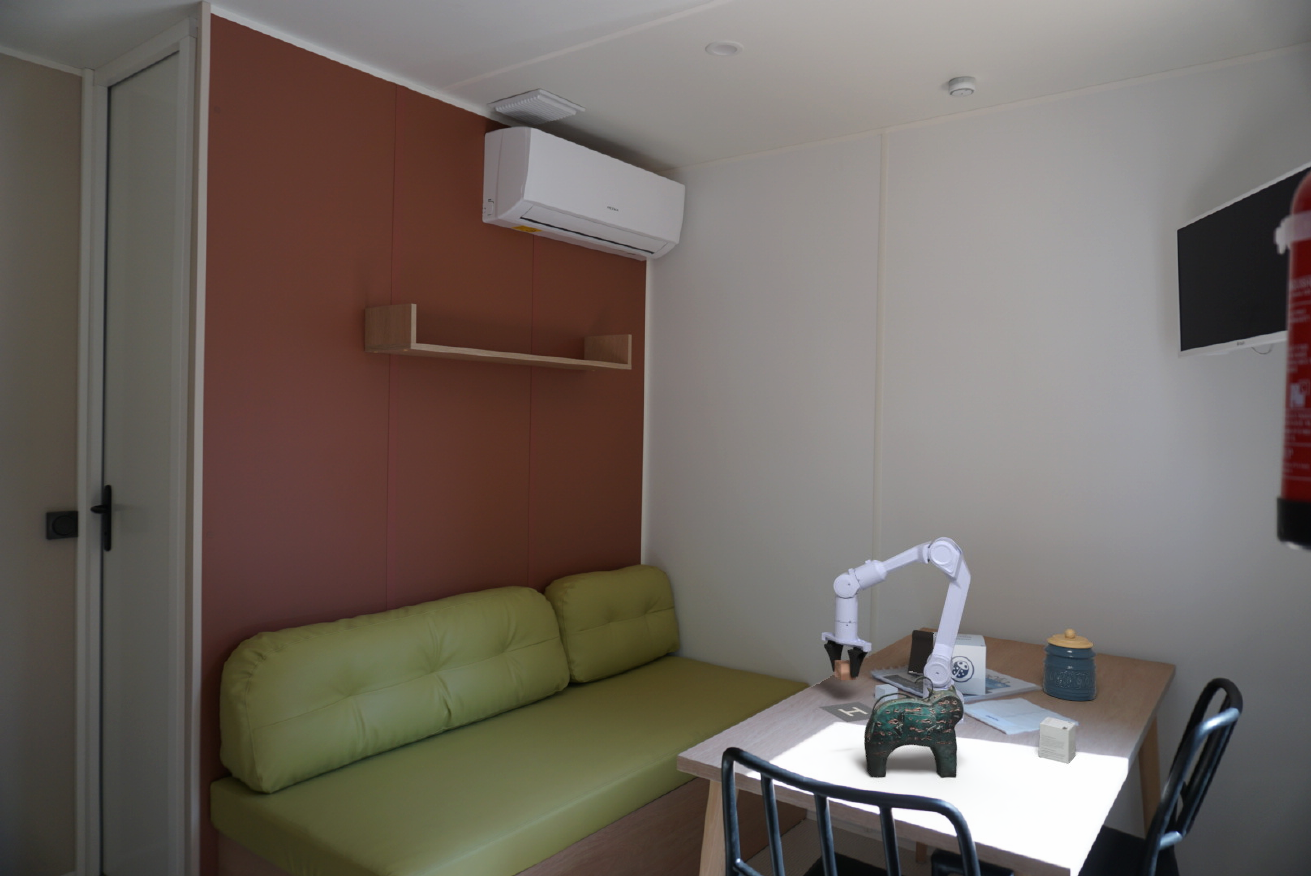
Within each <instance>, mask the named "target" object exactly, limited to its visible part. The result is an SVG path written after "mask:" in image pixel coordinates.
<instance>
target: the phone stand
mask: <svg viewBox="0 0 1311 876" xmlns="http://www.w3.org/2000/svg"><path fill="white" fill-rule="evenodd" d="M934 633H935V632H932V631H925V630H918V629H913V631H912V633H911V634H912V635H911V644H910V645H911V646H910V654H909V662H908V668H907V669H908V670H907V672H908V671H913V672H917V673H923V674H924V667H925V665H926V664H927V659H928V657H929V656H930V655H931V654H932V652H933V634H934Z"/></svg>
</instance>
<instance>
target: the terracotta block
mask: <svg viewBox="0 0 1311 876" xmlns="http://www.w3.org/2000/svg"><path fill="white" fill-rule="evenodd" d="M834 677H835V678H837V679H838V680H839V681H857V677H854V678H852V677H851V674H850V659H841V660H835V672H834Z"/></svg>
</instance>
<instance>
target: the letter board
mask: <svg viewBox="0 0 1311 876" xmlns="http://www.w3.org/2000/svg"><path fill="white" fill-rule="evenodd" d="M819 708H820V709H822V710H824V711H825V712H827V713H829V714H831V715H832V716H835V717H837V718H838V719H840V720H842V721H844V722H846V723H852V722H859V721H865V720H869V718H870V716H871V714H872V709H873V707H870V706H868V705H866V704H863V703H862V702H860V701H854V702H847V703H842V704H841V703H839V704H833V705H824V706H819Z"/></svg>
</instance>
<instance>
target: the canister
mask: <svg viewBox="0 0 1311 876" xmlns="http://www.w3.org/2000/svg"><path fill="white" fill-rule="evenodd" d="M1046 642H1047V643H1048V644H1046V645H1045V646H1044V647H1043V648H1042V649H1043V651H1044V652H1045V655H1044V656H1045V657H1044V658H1043V660H1042V662H1043V681H1042V687H1043V692H1044V693H1045V694H1046V695H1048V696H1051V697H1053V698H1057V699H1061V700H1067V701H1074V702H1085V701H1086V702H1087V701H1092V700H1095V698H1096V694H1097V667H1098V666H1097V664H1096V661H1095V658H1096V657H1097V655H1098V653H1097V651H1095V650H1094V649H1093V647H1094V643H1093V642H1091V641H1090V640H1088V638H1086V637H1084V636H1081V635H1076V631H1075V629H1072V628H1067V629H1065V631H1064V633H1058V634H1054V635H1052V636H1050V637H1048V638H1047V639H1046Z"/></svg>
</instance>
